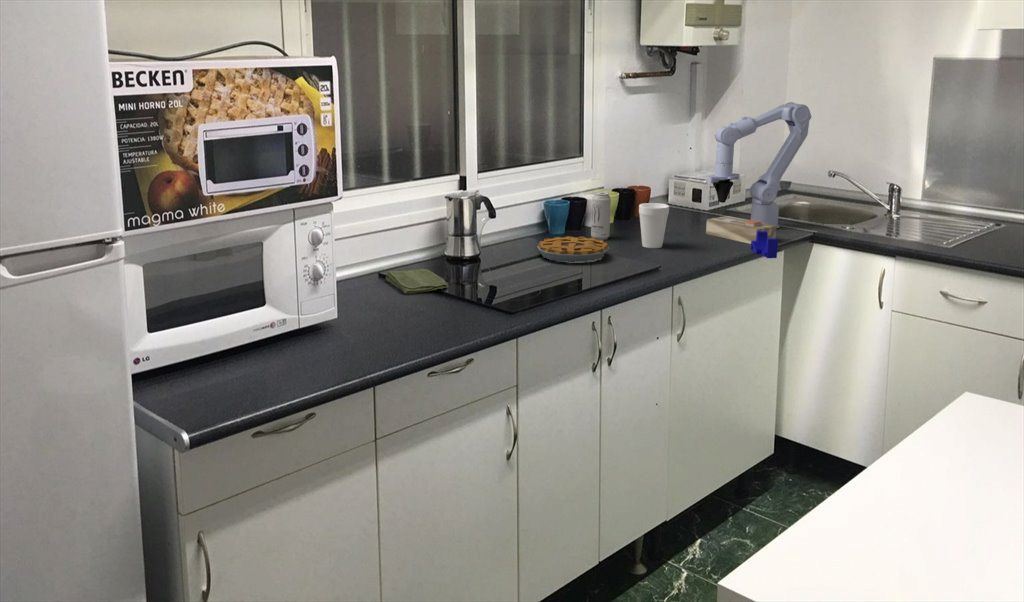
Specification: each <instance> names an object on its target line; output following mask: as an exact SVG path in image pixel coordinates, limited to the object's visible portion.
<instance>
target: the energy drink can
mask: <svg viewBox="0 0 1024 602" xmlns="http://www.w3.org/2000/svg"><path fill="white" fill-rule="evenodd" d="M590 221H591V224H590V225H591V226H590V227H591V228H590V236H591V237H592V238H595V239H596V240H603V241H605V240H608V238H609V237H610V231H611V230H610V227H611V223H610V222H611V197H610V194H609V192H605V191H596V192H594V193H593V196H592V198H591V220H590Z"/></svg>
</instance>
